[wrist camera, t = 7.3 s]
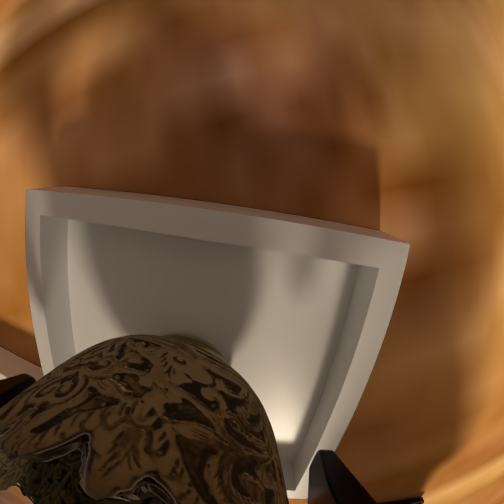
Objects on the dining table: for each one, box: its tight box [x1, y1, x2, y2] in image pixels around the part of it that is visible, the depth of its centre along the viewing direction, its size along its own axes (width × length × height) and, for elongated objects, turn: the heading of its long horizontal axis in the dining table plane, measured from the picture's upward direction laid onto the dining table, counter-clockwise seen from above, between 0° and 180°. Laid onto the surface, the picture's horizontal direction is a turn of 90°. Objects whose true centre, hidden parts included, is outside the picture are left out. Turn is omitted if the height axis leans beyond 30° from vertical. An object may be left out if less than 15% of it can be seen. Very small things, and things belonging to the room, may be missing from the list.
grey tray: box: [25, 186, 410, 499], centre depth 10 cm, size 12×12×2 cm
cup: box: [0, 333, 289, 504], centre depth 7 cm, size 8×7×8 cm
